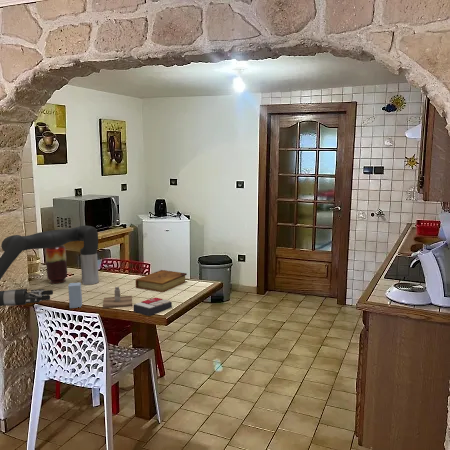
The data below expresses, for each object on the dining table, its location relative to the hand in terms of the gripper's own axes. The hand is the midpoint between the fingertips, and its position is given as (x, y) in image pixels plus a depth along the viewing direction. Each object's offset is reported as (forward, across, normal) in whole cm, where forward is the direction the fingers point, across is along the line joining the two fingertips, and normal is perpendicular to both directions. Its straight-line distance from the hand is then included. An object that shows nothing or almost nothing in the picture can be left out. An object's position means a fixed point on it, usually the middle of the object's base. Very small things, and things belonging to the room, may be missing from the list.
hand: (51, 294), depth 224 cm
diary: (+55, +27, +7) cm, 62 cm away
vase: (-4, +49, +7) cm, 50 cm away
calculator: (+48, -14, +7) cm, 50 cm away
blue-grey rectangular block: (+11, 0, +6) cm, 13 cm away
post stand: (+31, 0, +6) cm, 32 cm away
